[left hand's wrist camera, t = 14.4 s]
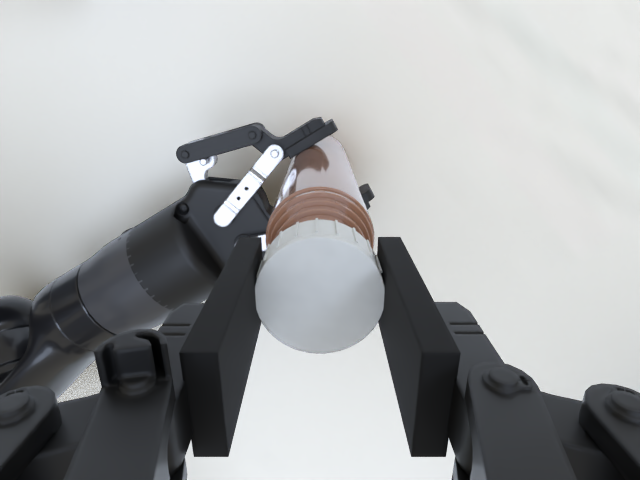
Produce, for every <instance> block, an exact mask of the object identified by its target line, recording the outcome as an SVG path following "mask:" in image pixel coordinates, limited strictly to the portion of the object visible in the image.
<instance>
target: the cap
mask: <svg viewBox="0 0 640 480" xmlns="http://www.w3.org/2000/svg"><path fill="white" fill-rule="evenodd" d="M381 273H383V272H382V269H381V266H380V263H379V260H378V257H377V255H375V254H374V252H373V250H372V248H371V246H370V243H369V240H368V239H367V240H366V239H365V238H364V237H363V236H362V235H361V234H359V233H358V232H357V231H356V230H355V228H354V227H353V228H351V227H349V226H347V225H345V224H342V223H339V222H338V220H335V221H331V220H318V218H315V220H309V221H304V222H301V223H299V222H296V224H295V225H293V226H291V227H289V228H287V229H286V230H284V231H283V232H282V231H280V233H279V235H278V236H277V237H276V238H275V239H274V240H273V242H272V243H271V244H268V246H267V249H266V252H265V255H264V258H263V260H262V261H261V264H260V267H259V270H258V273H257V276H256V277H257V280H256V285H255V298H256V310H257V313H258V315H259V318H260V319H261V321H262V323H263V325H264V326H265V327H266V329H267V330H268V331H269V332H270V333H271V334H272V335H273V336H274V337H275V338H276V339H278V340H279V341H280V342H282V343H283V344H285V345H287V346H289V347H291V348H294V349H297V350H299V351H304V352H308V353H331V352H336V351H340V350H343V349H346V348H349V347H351V346H353V345H355V344H356V343H358V342H359V341H361V340H362V339H364V338H365V337H366V336H367V335H368V334H369V333H370V332H371V331H372V330H373V329H374V327H375V326H376V324H377V323H378V321H379V319H380V317H381V315H382V312H383V308H384V293H385V286H384V282H383V278H382V275H381Z"/></svg>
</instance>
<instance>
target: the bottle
mask: <svg viewBox="0 0 640 480" xmlns="http://www.w3.org/2000/svg"><path fill="white" fill-rule="evenodd" d="M315 218H318V220H331V221H335V220H338V222H339V223H342V224H345V225H347V226H349V227H351V228H353V227H354V228H355V230H356V231H357V232H358V233H359V234H361V235H362V236H363V237H364V238H365V239H366V240H367V239H368V240H369V243H370V246H371V248H372V250H373V246H374V229H373V225H372V222H371V219H370V216H369V213H368V211H367V208H366V205H365V203H364V200H363V197H362V195H361V192H360V189H359V187H358V184H357V181H356V179H355V176H354V173H353V171H352V168H351V165H350V163H349V160H348V157H347V155H346V152H345V150H344V148H343V146H342V145H341V143H340V142H339V141H338V140H337V139H335V138H334V137H332V136H330V135H329V136H328V137H326V138H324V139H323V140H321V141H319V142H318V143H316V144H314V145H313V146H311V147H309V148H308V149H306V150H304V151H302V152H301V153H299V154H298V155H296V156H294V157H293V158H292V160H291V162H290V165H289V168H288V170H287V173H286V176H285V178H284V181H283V183H282V186H281V189H280V191H279V194H278V197H277V199H276V202H275V205H274V207H273V210H272V213H271V215H270V218H269V221H268V224H267V228H266V248H267V246H268V244H271V243H272V242H273V240H274V239H275V238H276V237H277V236H278V235H279V233H280V231H282V232H283V231H284V230H286V229H287V228H289V227H291V226H293V225H295V224H296V222H299V223H301V222H304V221H309V220H315Z"/></svg>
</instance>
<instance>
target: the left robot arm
mask: <svg viewBox="0 0 640 480" xmlns="http://www.w3.org/2000/svg"><path fill="white" fill-rule="evenodd" d="M377 257H378V260H379V263H380V266H381V269H382V272H383V273H381V275H382V278H383V282H384V286H385V293H384V308H383V312H382V315H381V317H380V319H379V321H378V322H379V327H380V331H381V335H382V339H383V343H384V347H385V351H386V355H387V359H388V363H389V367H390V371H391V376H392V380H393V384H394V388H395V392H396V396H397V400H398V404H399V408H400V412H401V416H402V421H403V425H404V429H405V433H406V437H407V441H408V445H409V449H410V453H411V457H446V452H447V445H448V438H449V440H450V442H451V445H452V448H453V451H454V453H455V462H454V468H453V475H452V480H640V393H638V392H636V391H634V390H632V389H629V388H625V387H622V386H618V385H612V384H597V385H592V386H590V387H589V388H588V389H587V390H586V391H585V394H584V398H583V401H579V400H574V399H569V398H565V397H560V396H556V395H551V394H548V393H544V392H541V391H540V390H539V388H538V386H537V384H536V383H535V382H534V380H533V379H532V378H531V377H530V376H529V375H527V374H526V373H525V372H523V371H522V370H520V369H517V368H515V367H513V366H511V365H508V364H504V362H503V361H502V359H501V358H500V356H499V355H498V353H497V352H496V350H495V349H494V347H493V346H492V344H491V343H490V341H489V339H488V338H487V336H486V335H485V334H484V333H483V330H482V329H481V327H480V326H479V325H478V324H477V321H476V320H475V318H474V317H473V315H472V314H471V312H470V311H469V310H467V309H466V308H464V307H463V306H461V305H460V304H459V303H457V302H434V301H433V299H432V297H431V295H430V293H429V291H428V289H427V287H426V285H425V284H424V282H423V280H422V278H421V276H420V274H419V272H418V270H417V268H416V266H415V264H414V263H413V261H412V259H411V257H410V255H409V253H408V251H407V249H406V247H405V245H404V243H403V242H402V240H401V238H400V237H378V252H377ZM262 260H263V257H262V238H261V237H239V239H238V241H237V243H236V245H235V247H234V249H233V251H232V252H231V254H230V256H229V258H228V260H227V262H226V264H225V266H224V268H223V270H222V272H221V273H220V275H219V277H218V279H217V281H216V283H215V285H214V287H213V289H212V291H211V293H210V294H209V296H208V298H207V300H206V302H205V303H183V304H182V305H180V306H179V307H178V308H176V309H175V310H173V311H172V312H170V313H169V315H168V316H167V318H166V319H165V321H164V323H163V325H162V326H161V327H160V329H159V330H158V331H156V330H152V329H136V330H131V331H126V332H122V333H120V334H117V335H115V336H112V337H110V338H109V339H107V340H106V341H104V342H103V343H101V344H100V345H99V346H98V347H97V349H96V350H95V351H94V355H95V360H96V364H97V368H98V373H99V377H100V381H101V386H102V388H101V391H100V393H98V394H95V395H91V396H88V397H83V398H79V399H74V400H69V401H65V402H60V403H58V402H57V399H56V395H55V393H54V392H53V391H52V390H51V389H50V388H49V387H44V386H38V385H37V386H27V387H21V388H17V389H15V390H11V391H8V392H6V393H4V394H2V395H0V480H187V469H186V462H185V455H186V452H187V449H188V446H189V444H190V441H191V440H192V447H193V454H194V457H228V456H229V452H230V448H231V444H232V440H233V436H234V432H235V428H236V423H237V419H238V415H239V411H240V407H241V403H242V399H243V395H244V391H245V387H246V383H247V379H248V374H249V370H250V366H251V362H252V358H253V354H254V350H255V346H256V342H257V338H258V334H259V330H260V325H261V319H260V318H259V315H258V313H257V310H256V298H255V285H256V280H257V277H256V276H257V273H258V270H259V267H260V264H261V261H262Z"/></svg>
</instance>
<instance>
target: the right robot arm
mask: <svg viewBox="0 0 640 480" xmlns="http://www.w3.org/2000/svg"><path fill="white" fill-rule="evenodd" d="M337 130H338V129H337V127H336V125H335V123H334V121H333V120H332V119H331V120H329V121H327V122H325V123H324V121H323V120H322V118H321V117H318V118H313V119H311V120H310V121H308V122H307V123H305V124H303V125H302V126H300V127H298V128H297V129H295V130H293V131H292V132H290V133H289V134H287V135H285V136H283V137H276V136H274V135H272V134H271V133H270V132H269V131H267V130H266V129H265V127H264V126H263V125H262V124H261V123H253V124H249V125H246V126H242V127H239V128H236V129H232V130H229V131H225V132H222V133H218V134H215V135H212V136H208V137H205V138H201V139H198V140H194V141H191V142H189V143H187V144H184V145H182V146H180V147H179V148H178V149H177V151H176V156H177V158H178V160H179V161H180V162H182V163H185V164H186V166H187V169H188V171H189V174H190V176H191V179H192V181H193V184H192V185H191V186H190V188H189V190H188V192H187V194H186V195H185V196H184V197H183V198H181V199H179V200H178V201H176V202H175V203H173V204H171V205H170V206H168V207H166V208H165V209H163V210H162V211H160V212H158V213H157V214H155V215H153V216H152V217H150V218H149V219H147V220H145V221H144V222H142V223H140V224H139V225H137V226H136V227H134V228H131V229H128V230H126V231H125V232H123V233H122V234H121V236H119V237H118V238H116V239H114V240H113V241H111V242H110V243H108V244H107V245H105V246H104V247H103V248H102V249H100V250H99V251H98V252H97V253H96V254H95V255H93V256H92V257H91V258H89V259H88V260H87V261H85V262H83V263H82V264H80V265H78V266H77V267H75V268H73V269H72V270H70V271H69V272H67V273H65V274H64V275H62V276H60V277H59V278H57V279H55V280H54V281H52V282H51V283H49V284H48V285H46V286H45V287H44V288H43V289H42V290H41V291H40V292H39V293H38V294H37V295H36V296H35V298H34V300H33V301H32V300H30V299H28V298H24V297H21V296H1V297H0V395H2V394H4V393H6V392H8V391H11V390H15V389H17V388H21V387H27V386H37V385H38V386H44V387H49V388H50V389H51V390H52V391H53V392H54V393H55V395H56V399H57V398H58V397H59V396H61V395H62V394H63V393H64V392H65V391H66V390H67V389H68V388H69V387H70V385H71V384H72V383H73V382H74V381H75V380H76V379H77V378H78V377H79V376H80V374H81V373H82V372H83V371H84V370H85V369H86V368H87V367H88V366H89V365H90V364H92V363H93V362H94V361H95V355H94V351H95V350H96V349H97V347H98V346H99V345H100V344H101V343H103V342H104V341H106V340H107V339H109V338H110V337H112V336H115V335H117V334H120V333H122V332H126V331H131V330H136V329H151V328H153V327H156V326H158V325H161V324H163V323H164V321H165V319H166V318H167V316H168V315H169V313H170V312H172V311H173V310H175V309H176V308H178V307H179V306H180V305H182V304H183V303H201V302H203V301H205V300H206V299H207V298H208V296H209V294H210V293H211V291H212V289H213V287H214V285H215V283H216V281H217V279H218V277H219V275H220V273H221V272H222V270H223V268H224V266H225V264H226V262H227V260H228V258H229V256H230V254H231V252H232V251H233V249H234V247H235V245H236V243H237V241H238V239H239V237H261V238H262V257H263V258H264V255H265V252H266V249H267V248H266V228H267V224H268V221H269V218H270V215H271V213H272V210H273V207H272V206H271V205H270V204H269V202H268V199H267V196H266V193H265V192H264V190H263V188H262V187H261V185H262V183H263V182H264V181H265V179H266V178H267V177H268V176H269V174H270V173H271V172H272V171H273V170H274V168H275V167H276V166H277V165H278V163H279V162H280V161H281V160H283V159H285V158H286V157H288V156H289V157H290V159H291V158H293V157H294V156H296V155H298V154H299V153H301V152H302V151H304V150H306V149H308V148H309V147H311V146H313V145H314V144H316V143H318V142H319V141H321V140H323V139H324V138H326V137H328V136H329V135H331V134H333V133H334V132H336V131H337ZM250 145H253V146H254V147H255V148H256V149H258V150H259V151H260V152H261V153H263V154H262V155H261V157H260V158H259V159H258V160H257V162H256V163H255V164H254V165H253V167H252V168H251V169H250V170H249V172H248V173H247V174H246V175H245V177H244V178H243V179H242V180H238V179H227V178H217V177H208V170H209V168H211V167H213V166H214V165H215V164H216V163H217V160H218V158H217V155H219V154H222V153H226V152H229V151H233V150H236V149H240V148H243V147H247V146H250ZM359 189H360V192H361V195H362V197H363V200H364V203H365V205H366V208H367V210H368V209H369V207H370V204H369V201H370V200H372V199H373V198H374V194H373V192H372V190H371V189H370V187H369V185H368V184H364V185H362V186H360V187H359Z"/></svg>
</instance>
